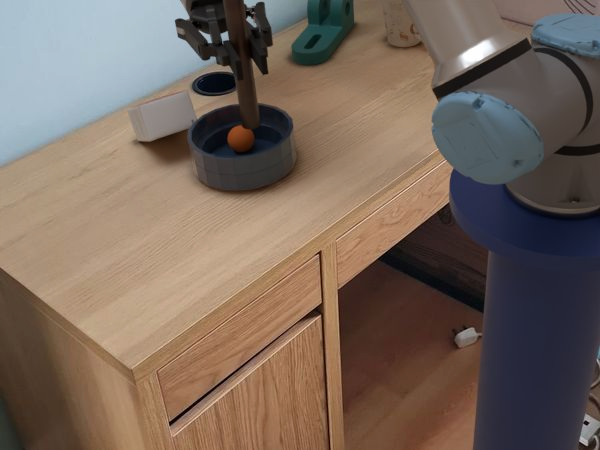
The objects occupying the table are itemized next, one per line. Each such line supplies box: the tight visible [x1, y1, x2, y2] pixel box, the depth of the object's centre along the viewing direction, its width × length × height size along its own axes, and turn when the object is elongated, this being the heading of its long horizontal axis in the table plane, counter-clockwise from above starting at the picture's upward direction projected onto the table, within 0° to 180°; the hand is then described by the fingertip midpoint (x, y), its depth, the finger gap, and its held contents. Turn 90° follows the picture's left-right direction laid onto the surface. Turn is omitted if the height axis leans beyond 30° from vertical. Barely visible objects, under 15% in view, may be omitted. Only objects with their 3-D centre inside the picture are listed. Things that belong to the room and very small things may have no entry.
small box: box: [126, 89, 198, 142], centre depth 120 cm, size 8×6×10 cm
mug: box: [381, 0, 422, 48], centre depth 140 cm, size 8×13×10 cm, turn 36°
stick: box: [223, 0, 261, 130], centre depth 104 cm, size 3×3×20 cm
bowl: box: [187, 102, 298, 192], centre depth 115 cm, size 15×15×6 cm
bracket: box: [290, 0, 355, 66], centre depth 144 cm, size 18×7×8 cm, turn 158°
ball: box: [228, 125, 254, 152], centre depth 117 cm, size 4×4×4 cm
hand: (252, 67), depth 99 cm, fingers closed on stick, 3 cm apart
